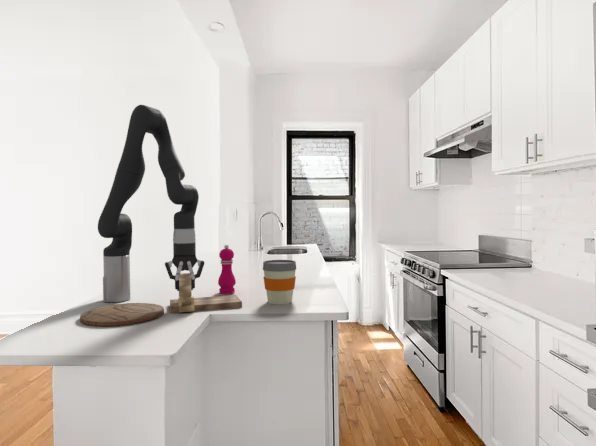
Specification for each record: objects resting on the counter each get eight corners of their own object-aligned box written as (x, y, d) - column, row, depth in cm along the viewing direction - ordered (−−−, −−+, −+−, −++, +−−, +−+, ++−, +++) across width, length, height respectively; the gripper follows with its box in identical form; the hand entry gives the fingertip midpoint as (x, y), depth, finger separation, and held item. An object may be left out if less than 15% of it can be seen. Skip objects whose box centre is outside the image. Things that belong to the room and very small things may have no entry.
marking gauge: (178, 312, 136) (178, 278, 135) (177, 303, 148) (176, 272, 148) (194, 311, 137) (193, 277, 137) (191, 302, 150) (191, 271, 150)
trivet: (115, 332, 116) (115, 326, 116) (62, 321, 129) (62, 315, 128) (180, 313, 138) (180, 307, 138) (130, 305, 150) (129, 300, 150)
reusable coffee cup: (292, 306, 146) (292, 264, 146) (258, 304, 148) (258, 263, 148) (299, 298, 158) (299, 260, 158) (268, 297, 161) (267, 259, 160)
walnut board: (170, 312, 137) (170, 306, 137) (170, 305, 149) (170, 299, 149) (242, 307, 145) (241, 301, 145) (236, 300, 156) (236, 294, 156)
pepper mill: (234, 294, 167) (233, 245, 167) (216, 294, 168) (215, 245, 167) (237, 290, 175) (236, 244, 174) (220, 290, 175) (219, 244, 174)
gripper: (163, 243, 138) (163, 293, 138) (206, 241, 142) (206, 290, 143) (163, 241, 145) (163, 289, 146) (204, 240, 150) (204, 287, 150)
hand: (185, 290), depth 144 cm, fingers closed on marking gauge, 4 cm apart
